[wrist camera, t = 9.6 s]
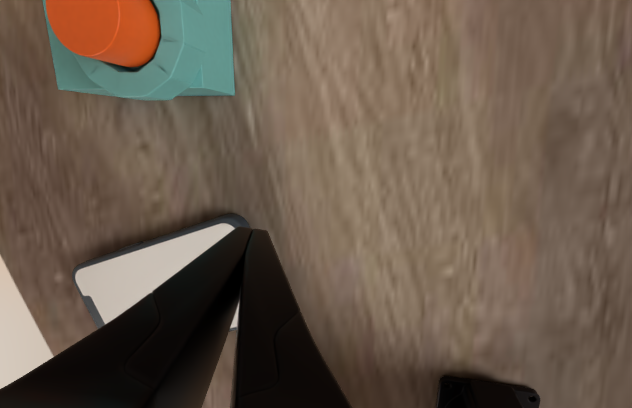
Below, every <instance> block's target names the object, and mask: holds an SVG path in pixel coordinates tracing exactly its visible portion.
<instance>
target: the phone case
mask: <svg viewBox="0 0 632 408" xmlns="http://www.w3.org/2000/svg"><path fill="white" fill-rule="evenodd" d="M238 226H241V227H247V228H250V227H249V224H248V223H247V221H246V220H245V219H244V218H243V217H241V216H240V215H237V214H227V215H223V216H220V217H217V218H214V219H211V220H208V221H205V222H202V223H199V224H196V225H193V226H190V227H187V228H184V229H181V230H178V231H175V232H172V233H169V234H166V235H163V236H160V237H157V238H154V239H151V240H148V241H145V242H142V241H141V242H138V243H135V244H132V245H129V246H126V247H123V248H121V249H119V250H118V251H115V252H112V253H109V254H106V255H103V256H100V257H97V258H94V259H91V260H88V261H86V262H84V263H81V264H79V265H77V266H76V267H75V268H74V270H73V272H72V278H73V282H74V284H75V286H76V288H77V290H78V292H79V293H80V295H81V297H82V299H83V301H84V303H85V305H86V307H87V309H88V311H89V313H90V315H91V316H92V318H93V320H94V322H95V324H96V326H97V328H98V329H99V328H101V327H102V326H104V325H105V324H107V323H108V322H110V321H111V320H113V319H115V318H116V317H117V316H119V315H120V314H122V313H123V312H124V311H126V310H127V309H129V308H130V307H131V306H133V305H134V304H136V303H137V302H138V301H140V300H141V299H142V298H144V297H145V296H146V295H148V294H149V293H152V291H153V290H154V289H156V288H157V287H158V286H160V285H161V284H162V283H164V282H165V281H166V280H168V279H169V278H170V277H172V276H173V275H174V274H176V273H177V272H178V271H180V270H181V269H182V268H184V267H185V266H186V265H187V264H189V263H190V262H191V261H193V260H194V259H195V258H197V257H198V256H199V255H201V254H202V253H203V252H205V251H206V250H207V249H209V248H210V247H211V246H213V245H214V244H215V243H217V242H218V241H219V240H221V239H222V238H223V237H224V236H226V235H227V234H228V233H230V232H231V231H232V230H234V229H235V228H236V227H238ZM239 301H240V300H239ZM238 310H239V304H238V307H237V310H236V313H235V316H234V319H233V321H232V324H231V327H230V330H229V331H233V330H237V321H238Z"/></svg>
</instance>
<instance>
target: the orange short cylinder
mask: <svg viewBox="0 0 632 408" xmlns="http://www.w3.org/2000/svg"><path fill="white" fill-rule="evenodd" d="M46 11H47V16H48V20H49V23H50V25H51V28H52V30H53V32H54V33H55V35H56V36H57V38H58V39H59V41H60V42H61V43H62V44H63V45H64V46H65V47H66V48H68V49H69V50H70V51H72V52H74V53H76V54H78V55H81V56H85V57H89V58H93V59H97V60H101V61H105V62H109V63H113V64H117V65H121V66H125V67H138V66H141V65H144V64H145V63H147V62H148V61H149V60H150V59H151V58H152V57H153V56H154V54H155V52H156V51H157V48H158V45H159V42H160V34H161V30H160V21H159V17H158V14H157V12H156V10H155V8H154V6H153V4H152V3H151V1H150V0H46Z"/></svg>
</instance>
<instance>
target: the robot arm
mask: <svg viewBox="0 0 632 408" xmlns="http://www.w3.org/2000/svg"><path fill="white" fill-rule="evenodd" d="M239 300H240V301H239ZM238 304H239V310H238V321H237V332H236V344H235V356H234V367H233V379H232V391H231V402H230V408H352V406H351V405H350V403H349V401H348V400H347V398H346V396H345V394H344V393H343V391H342V389H341V388H340V386H339V384H338V382H337V381H336V379H335V377H334V376H333V374H332V372H331V370H330V369H329V367H328V365H327V364H326V362H325V360H324V358H323V357H322V355H321V353H320V351H319V349H318V347H317V346H316V344H315V342H314V340H313V338H312V336H311V333H310V331H309V329H308V327H307V325H306V323H305V320H304V318H303V315H302V313H301V312H300V308H299V306H298V304H297V301H296V299H295V296H294V294H293V292H292V289H291V287H290V284H289V282H288V279H287V277H286V275H285V272H284V270H283V267H282V265H281V263H280V260H279V258H278V255H277V253H276V251H275V248H274V246H273V243H272V241H271V238H270V236H269V234H268V232H267V231H266V230H260V229H253V231H252V229H251V228H247V227H241V226H238V227H236V228H235V229H234V230H232V231H231V232H230V233H228V234H227V235H226V236H224V237H223V238H222V239H221V240H219V241H218V242H217V243H215V244H214V245H213V246H211V247H210V248H209V249H207V250H206V251H205V252H203V253H202V254H201V255H199V256H198V257H197V258H195V259H194V260H193V261H191V262H190V263H189V264H187V265H186V266H185V267H184V268H182V269H181V270H180V271H178V272H177V273H176V274H174V275H173V276H172V277H170V278H169V279H168V280H166V281H165V282H164V283H162V284H161V285H160V286H158V287H157V288H156V289H154V290H153V291H152V293H149V294H148V295H146V296H145V297H144V298H142V299H141V300H140V301H138V302H137V303H136V304H134V305H133V306H131V307H130V308H129V309H127V310H126V311H124V312H123V313H122V314H120V315H119V316H117V317H116V318H115V319H113V320H111V321H110V322H108V323H107V324H105V325H104V326H102V327H101V328H99V329H98V330H96V331H95V332H93V333H91V334H90V335H88V336H87V337H85V338H83V339H82V340H80V341H79V342H77V343H75V344H74V345H72V346H71V347H69V348H67V349H66V350H64V351H63V352H61V353H59V354H58V355H56V356H55V357H53V358H52V359H50V360H48V361H47V362H45V363H43V364H42V365H40V366H39V367H37V368H35V369H34V370H32V371H31V372H29V373H27V374H26V375H24V376H23V377H21V378H19V379H17V380H16V381H14V382H12V383H11V384H9V385H7V386H5V387H4V388H1V389H0V408H201V407H202V405H203V402H204V399H205V396H206V394H207V391H208V388H209V385H210V382H211V380H212V377H213V374H214V371H215V369H216V366H217V363H218V360H219V357H220V355H221V352H222V349H223V346H224V344H225V341H226V338H227V335H228V332H229V330H230V327H231V324H232V321H233V319H234V316H235V313H236V310H237V307H238ZM445 383H449V384H447V385H446V384H445ZM530 396H532V397H530ZM539 404H540V397H539V395H538V394H537V392H536V391H535V390H534V389H531V388H525V387H518V386H511V385H505V384H498V383H491V382H484V381H478V380H471V379H464V378H458V377H451V376H443V377H441V378H440V379H439V384H438V392H437V399H436V407H435V408H539Z"/></svg>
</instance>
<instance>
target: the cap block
mask: <svg viewBox="0 0 632 408" xmlns="http://www.w3.org/2000/svg"><path fill="white" fill-rule="evenodd" d="M42 1H43V6H44V12H45V18H46V23H47V29H48V35H49V40H50V46H51V52H52V57H53V63H54V69H55V74H56V80H57V86H58V89H59V90H67V91H75V92H83V93H90V94H98V95H106V96H117V97H122V98H130V99H137V100H172V99H173V98H174V97H176V96H234V95H235V88H234V67H233V45H232V24H231V2H230V0H150V1H151V3H152V4H153V6H154V8H155V10H156V12H157V14H158V17H159V21H160V30H161V34H160V42H159V45H158V48H157V51H156V52H155V54H154V56H153V57H152V58H151V59H150V60H149V61H148V62H147V63H145V64H144V65H141V66H138V67H125V66H121V65H117V64H113V63H109V62H105V61H101V60H97V59H93V58H89V57H85V56H81V55H78V54H76V53H74V52H72V51H70V50H69V49H68V48H66V47H65V46H64V45H63V44H62V43H61V42H60V41H59V39H58V38H57V36H56V35H55V33H54V32H53V30H52V28H51V25H50V23H49V20H48V16H47V11H46V0H42Z"/></svg>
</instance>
